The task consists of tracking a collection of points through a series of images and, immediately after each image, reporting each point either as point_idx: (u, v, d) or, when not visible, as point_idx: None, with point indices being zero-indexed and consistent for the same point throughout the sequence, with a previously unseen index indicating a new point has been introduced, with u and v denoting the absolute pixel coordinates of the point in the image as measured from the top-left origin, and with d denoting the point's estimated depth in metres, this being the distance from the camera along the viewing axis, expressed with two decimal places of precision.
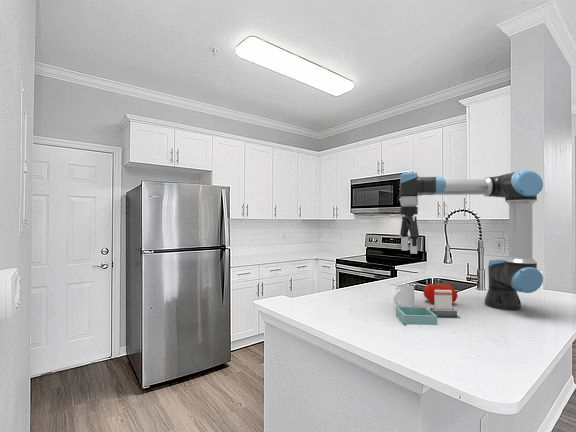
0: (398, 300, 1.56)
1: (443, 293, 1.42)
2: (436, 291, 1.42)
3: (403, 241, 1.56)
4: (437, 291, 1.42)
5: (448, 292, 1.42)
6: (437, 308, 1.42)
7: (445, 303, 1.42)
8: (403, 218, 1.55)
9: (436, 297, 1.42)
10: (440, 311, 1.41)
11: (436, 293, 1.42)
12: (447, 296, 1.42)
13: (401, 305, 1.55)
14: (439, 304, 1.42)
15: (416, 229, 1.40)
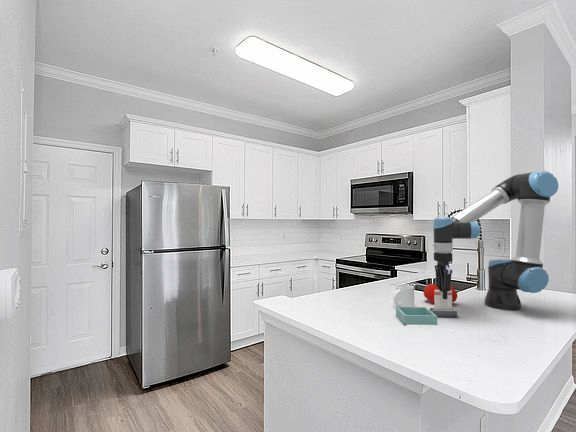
0: (398, 300, 1.56)
1: None
2: (436, 291, 1.42)
3: None
4: (437, 291, 1.42)
5: (448, 292, 1.42)
6: (437, 308, 1.42)
7: None
8: (436, 266, 1.48)
9: (436, 297, 1.42)
10: (440, 311, 1.41)
11: (436, 293, 1.42)
12: None
13: (401, 305, 1.55)
14: (439, 304, 1.42)
15: (449, 283, 1.38)
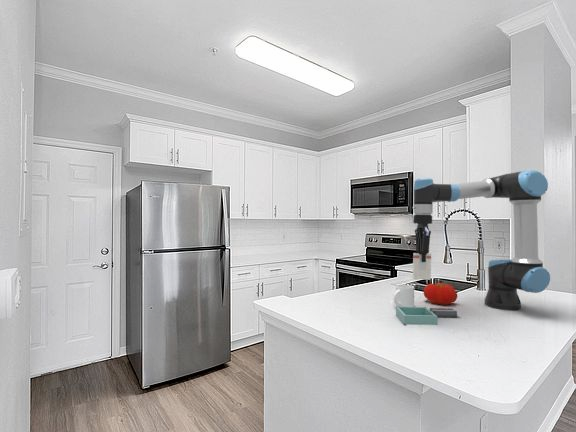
0: (398, 300, 1.56)
1: None
2: (415, 254, 1.38)
3: None
4: (416, 254, 1.38)
5: (427, 255, 1.38)
6: (415, 272, 1.38)
7: None
8: (416, 230, 1.44)
9: (415, 260, 1.38)
10: (440, 311, 1.41)
11: (415, 256, 1.38)
12: (426, 259, 1.38)
13: (401, 305, 1.55)
14: (417, 268, 1.38)
15: (427, 245, 1.34)
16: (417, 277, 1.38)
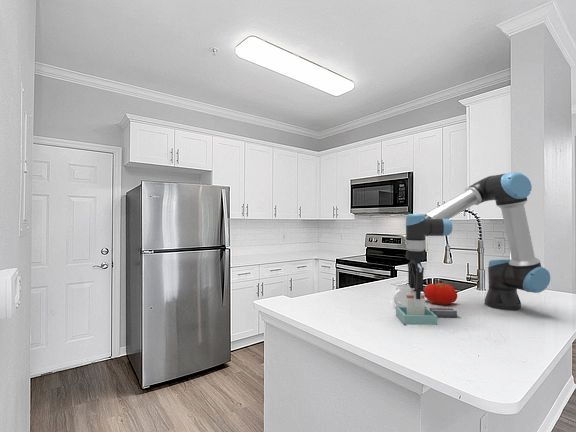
0: (398, 300, 1.56)
1: None
2: (408, 294, 1.37)
3: None
4: (409, 294, 1.37)
5: None
6: (409, 312, 1.37)
7: (417, 307, 1.36)
8: (409, 264, 1.43)
9: (408, 300, 1.37)
10: (440, 311, 1.41)
11: (408, 296, 1.37)
12: None
13: (401, 305, 1.55)
14: (411, 308, 1.37)
15: (421, 282, 1.31)
16: None
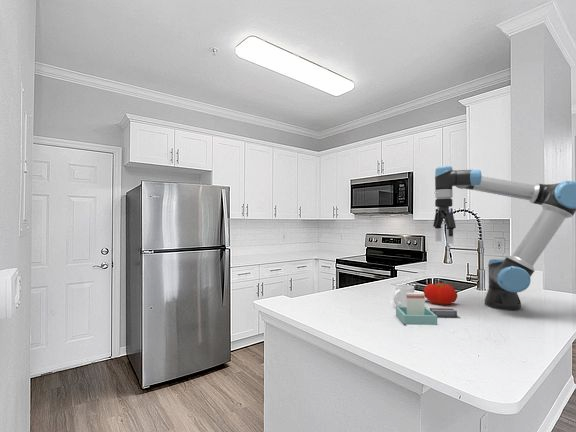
0: (398, 300, 1.56)
1: (415, 296, 1.36)
2: (408, 294, 1.37)
3: (437, 232, 1.63)
4: (409, 294, 1.37)
5: (420, 295, 1.36)
6: (409, 312, 1.37)
7: (417, 307, 1.36)
8: (437, 210, 1.62)
9: (408, 300, 1.37)
10: (440, 311, 1.41)
11: (408, 296, 1.37)
12: (419, 299, 1.36)
13: (401, 305, 1.55)
14: (411, 308, 1.37)
15: (453, 220, 1.48)
16: None
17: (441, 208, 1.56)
